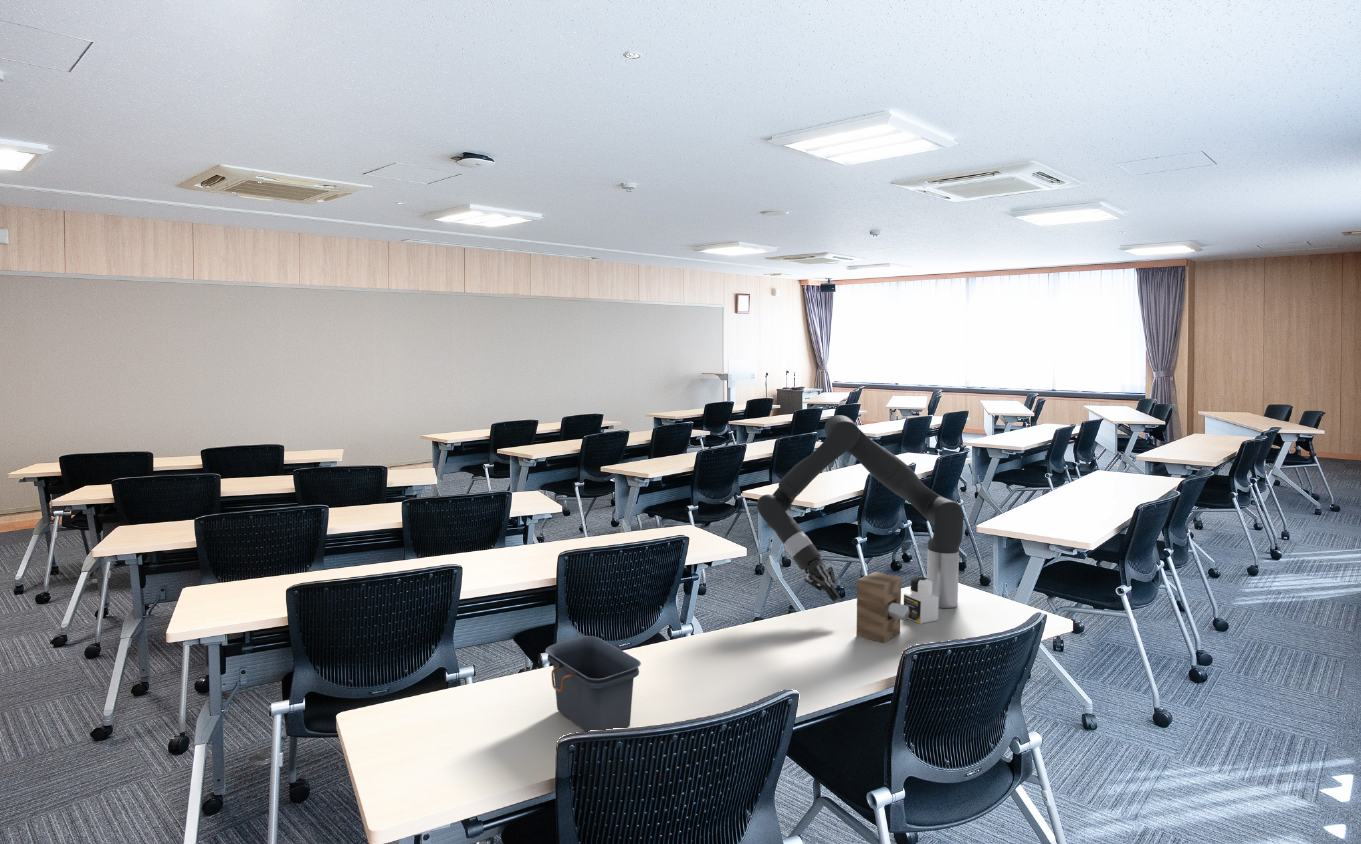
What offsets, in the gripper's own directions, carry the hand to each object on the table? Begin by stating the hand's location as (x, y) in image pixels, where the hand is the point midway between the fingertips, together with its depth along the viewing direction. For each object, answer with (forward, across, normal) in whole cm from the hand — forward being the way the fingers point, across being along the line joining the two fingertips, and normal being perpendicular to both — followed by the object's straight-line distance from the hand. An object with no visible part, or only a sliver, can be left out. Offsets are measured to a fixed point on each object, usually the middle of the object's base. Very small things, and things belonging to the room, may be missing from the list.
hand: (837, 599), depth 216 cm
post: (+14, 0, -4) cm, 15 cm away
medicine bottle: (+17, +20, -6) cm, 27 cm away
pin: (+12, 0, -9) cm, 15 cm away
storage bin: (0, -86, +12) cm, 87 cm away
